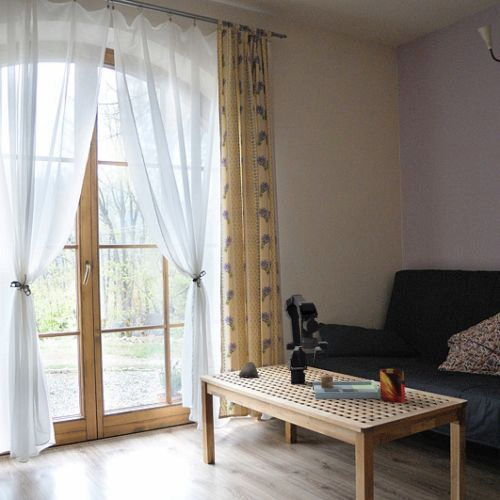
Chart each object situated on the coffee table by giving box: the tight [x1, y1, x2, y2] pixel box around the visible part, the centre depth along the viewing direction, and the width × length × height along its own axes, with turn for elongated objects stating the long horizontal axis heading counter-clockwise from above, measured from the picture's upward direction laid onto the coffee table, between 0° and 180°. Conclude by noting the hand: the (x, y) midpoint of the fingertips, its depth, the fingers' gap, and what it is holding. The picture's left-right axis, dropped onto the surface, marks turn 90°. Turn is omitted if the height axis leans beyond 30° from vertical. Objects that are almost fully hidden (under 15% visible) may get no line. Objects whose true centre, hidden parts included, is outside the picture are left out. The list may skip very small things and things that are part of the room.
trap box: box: [312, 379, 381, 400], centre depth 263 cm, size 28×18×4 cm, turn 88°
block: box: [320, 374, 334, 388], centre depth 267 cm, size 5×5×5 cm
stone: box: [238, 361, 259, 378], centre depth 305 cm, size 10×8×10 cm
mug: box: [379, 368, 406, 404], centre depth 249 cm, size 10×14×12 cm
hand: (307, 365), depth 268 cm, fingers open, 6 cm apart
